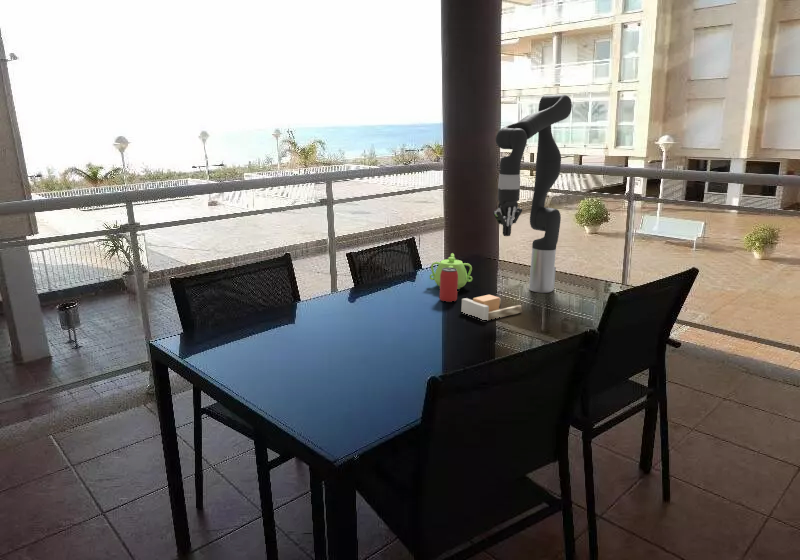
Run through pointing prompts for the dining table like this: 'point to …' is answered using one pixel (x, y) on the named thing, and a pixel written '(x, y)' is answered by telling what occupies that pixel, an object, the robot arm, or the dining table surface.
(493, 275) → the dining table surface
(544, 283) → the robot arm
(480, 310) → the stop block
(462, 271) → the green sugar bowl
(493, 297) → the block
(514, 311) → the guide lane
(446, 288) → the beer can
